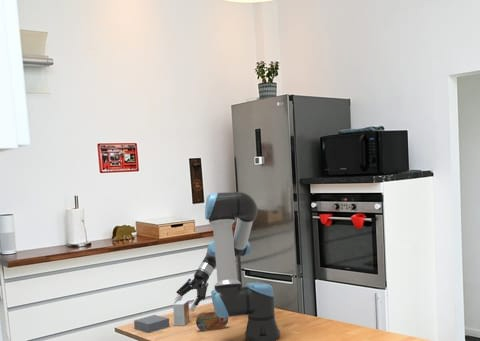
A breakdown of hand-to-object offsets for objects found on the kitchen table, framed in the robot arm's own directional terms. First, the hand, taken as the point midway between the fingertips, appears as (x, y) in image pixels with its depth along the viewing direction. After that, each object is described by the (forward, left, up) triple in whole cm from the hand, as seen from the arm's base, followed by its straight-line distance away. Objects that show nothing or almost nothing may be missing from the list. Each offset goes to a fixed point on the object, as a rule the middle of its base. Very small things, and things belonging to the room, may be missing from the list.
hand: (182, 308), depth 239 cm
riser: (+6, +14, -7) cm, 17 cm away
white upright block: (-1, +1, -7) cm, 7 cm away
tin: (-21, -1, -7) cm, 22 cm away
